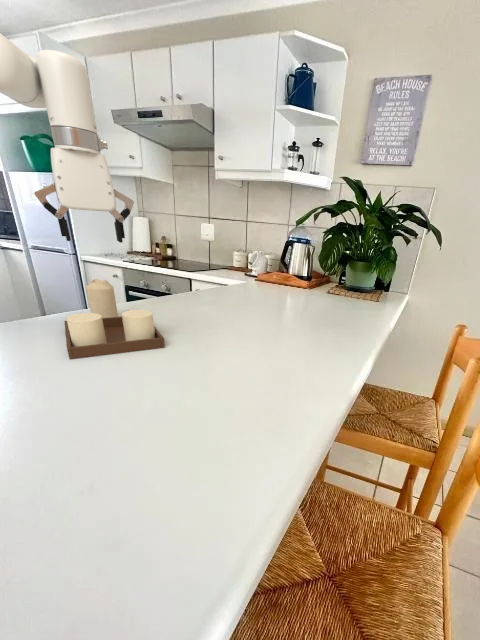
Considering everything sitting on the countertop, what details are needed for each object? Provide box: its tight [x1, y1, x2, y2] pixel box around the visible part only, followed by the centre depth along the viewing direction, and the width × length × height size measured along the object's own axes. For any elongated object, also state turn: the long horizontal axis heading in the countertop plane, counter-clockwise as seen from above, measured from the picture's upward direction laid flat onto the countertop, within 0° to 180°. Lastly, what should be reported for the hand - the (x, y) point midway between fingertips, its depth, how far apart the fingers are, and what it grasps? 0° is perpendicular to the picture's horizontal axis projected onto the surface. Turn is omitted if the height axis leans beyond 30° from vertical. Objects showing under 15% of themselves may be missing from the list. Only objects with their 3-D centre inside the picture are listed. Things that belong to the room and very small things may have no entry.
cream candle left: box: [65, 312, 107, 347], centre depth 60 cm, size 6×6×6 cm
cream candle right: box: [121, 309, 155, 341], centre depth 65 cm, size 6×6×6 cm
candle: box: [85, 278, 119, 318], centre depth 75 cm, size 6×6×10 cm
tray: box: [63, 316, 166, 360], centre depth 67 cm, size 16×17×3 cm
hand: (95, 241), depth 69 cm, fingers open, 9 cm apart
